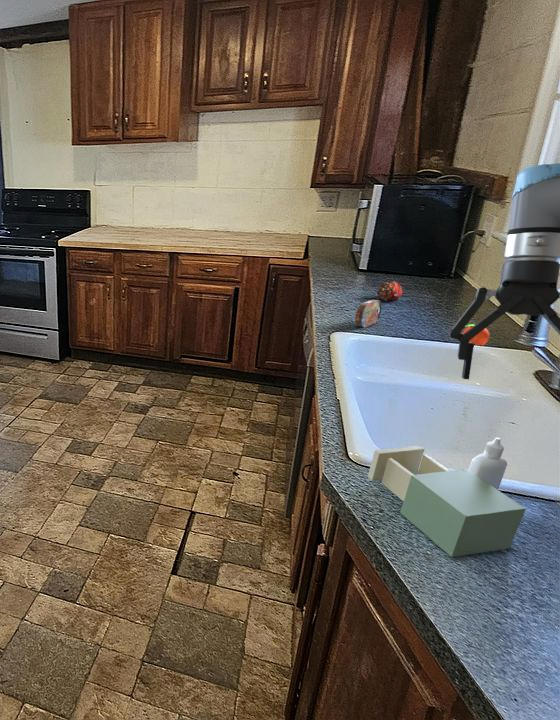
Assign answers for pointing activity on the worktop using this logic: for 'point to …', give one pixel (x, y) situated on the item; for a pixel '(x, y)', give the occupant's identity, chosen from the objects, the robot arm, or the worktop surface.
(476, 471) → the eye dropper bottle
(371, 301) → the sandwich
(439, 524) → the cabinet
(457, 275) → the worktop surface
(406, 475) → the drawer
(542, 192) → the robot arm
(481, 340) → the red tomato
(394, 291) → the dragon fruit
